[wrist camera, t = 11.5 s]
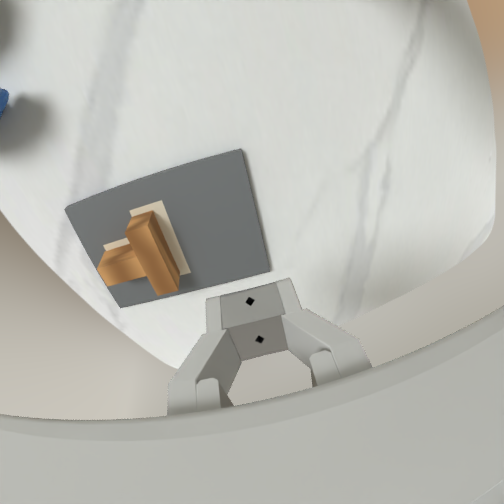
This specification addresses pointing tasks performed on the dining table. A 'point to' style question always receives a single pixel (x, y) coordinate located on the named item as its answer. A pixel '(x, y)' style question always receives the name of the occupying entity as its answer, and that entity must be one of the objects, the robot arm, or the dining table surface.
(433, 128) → the dining table surface
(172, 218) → the push board
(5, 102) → the blue lumpy cluster
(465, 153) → the dining table surface
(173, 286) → the t block
